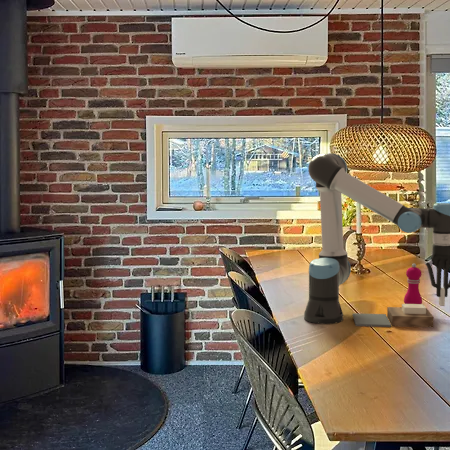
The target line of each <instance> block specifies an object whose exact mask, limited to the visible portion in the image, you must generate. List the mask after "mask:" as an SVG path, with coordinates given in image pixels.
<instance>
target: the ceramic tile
mask: <svg viewBox="0 0 450 450" xmlns="http://www.w3.org/2000/svg"><path fill="white" fill-rule="evenodd" d="M401 307H402V311H403V312H404V314H426V308H427V307H426V306H425V304H423V303H422V304H405V303H402V304H401Z"/></svg>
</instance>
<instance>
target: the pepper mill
mask: <svg viewBox="0 0 450 450" xmlns="http://www.w3.org/2000/svg"><path fill="white" fill-rule="evenodd" d="M405 274H406V275H405V276H406V277H407V278H406V279H407V281H406V282H407V283H408V284H407V287H408V288H407V291H406V293H405V295H404V297H403V304H423V298H422V295H421V293H420V289H419V285H420V282H421V279H420V278H422V274H423V273H422V270H421V269H420V268H418V267H417V264H416V263H412V264H411V267H409V268H407V270H406V273H405Z"/></svg>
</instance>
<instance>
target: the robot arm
mask: <svg viewBox="0 0 450 450" xmlns="http://www.w3.org/2000/svg"><path fill="white" fill-rule="evenodd" d="M307 169H308V174H309V176H310V178H311V180H313V182H315V189H317V191H318V192H319V200H320V201H319V202H320V203H319V204H320V206H319V207H320V224H321V225H320V226H321V227H320V230H321V248H322V249H321V251H320V252H319V253H318V258H314V259H313V260H311V261H310V263H309V264H308V265H309V266H308V267H309V268H308V300H307V304H306V306H305V310H304V313H303V315H304V316H303V318H304V320H305V321H307V322H309V323H314V324H319V325H321V324H323V325H330V324H331V325H333V324H337V323H341V322H343V320H344V314H343V313H344V312H343V309H342V306H341V303H340V299H339V298H340V286H341V285H343V284H344V283H345V282H346V281H347V280H348V279H349V277H350V275H351V271H352V266H351V263H350V261H349V259H348V258H349V257H348V256H349V255H348V251H346V250H345V249H344V228H343V227H344V226H343V205H342V202H343V200H342V194H343V196H346V197H348V198H349V199H350V200H352V201H355V202H356V203H358V204H359V205H361V206H363V207H365V208H366V209H367V210H370V211H371V212H373V213H375V214H377V215H379V216H380V217H382V218H384V219H385V220H387V221H389V222H391V223H393V225H395V226H397V227H398V228H399V230H401V231H402V232H403V233H407V234H411V233H415V232H416V231H418V230H419V229H432V243H433V245H432V251H431V252H432V253H431V255H432V256H431V257H430V260H427V261H425V262H424V265H425V266H426V267H427V271H428V275H429V280H430V284H431V286H432V287H433V288H435V289H436V294H435V295H436V297H437V298H438V306H440V307H445V302H446V301H445V299H446V298H448V296H449V295H448V293H449V292H448V290H449V289H450V279H449V271H450V203H449V202H439V203H437V202H435V203H434V204H433V206H432V207H431V208H421V207H407V206H405V205H403V204H402V203H400V202H399V201H397V200H395V199H393V198H392V197H391V196H388V195H386V194H385V193H383V192H381V191H379V190H378V189H376V188H374V187H373V186H370V185H369V184H367V183H366V182H363V181H362V180H360V179H358V178H356V177H355V176H353V175H351V174H349V173H348V165H347V162H346V161H345V159H344V158H343V157H342V156H341V155H339V154H336V153H319V154H316V155H315V156H314V157H312V158H311V160H310V162H309V164H308V168H307ZM433 265H434V266H435V268H436V279H435V276H434V271H433V267H432V266H433ZM442 269H443V278H442ZM442 279H443V281H442ZM442 282H443V284H442ZM442 285H443V287H442Z"/></svg>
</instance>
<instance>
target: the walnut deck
mask: <svg viewBox="0 0 450 450" xmlns="http://www.w3.org/2000/svg"><path fill="white" fill-rule="evenodd" d="M386 307H387V309H386V313H387V314H386V316H387V318H388V320H389V322H390V324H391V327H403V328H404V327H406V328H407V327H409V328H434V315H433V314H432V313H431V312H430V310H429V309H428V308H427V307H426V314H404V312H403V311H402V306H401V307H400V306H399V307H398V306H386Z"/></svg>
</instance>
